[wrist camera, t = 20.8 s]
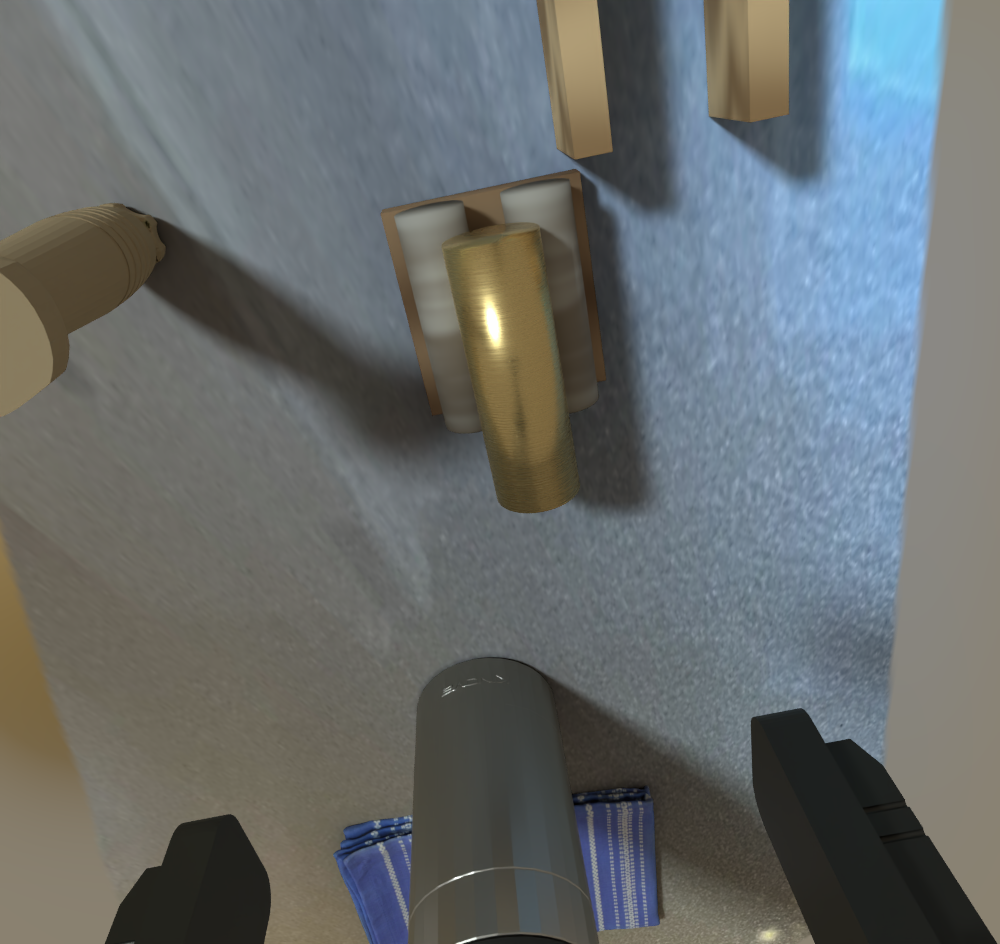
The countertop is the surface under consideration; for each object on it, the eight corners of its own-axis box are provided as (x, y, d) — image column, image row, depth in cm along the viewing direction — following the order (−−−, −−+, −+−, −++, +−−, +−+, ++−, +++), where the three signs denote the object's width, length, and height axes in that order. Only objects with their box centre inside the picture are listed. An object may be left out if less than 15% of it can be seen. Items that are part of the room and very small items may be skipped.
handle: (217, 280, 35) (79, 405, 21) (83, 301, 35) (-136, 440, 22) (181, 171, 32) (2, 236, 19) (38, 194, 32) (-239, 275, 19)
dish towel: (331, 819, 54) (326, 855, 52) (651, 773, 54) (661, 806, 52) (379, 949, 62) (377, 986, 60) (656, 909, 62) (665, 944, 60)
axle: (569, 461, 37) (588, 500, 33) (492, 480, 37) (503, 521, 33) (529, 217, 31) (548, 233, 28) (438, 237, 31) (445, 256, 28)
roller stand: (601, 371, 38) (618, 403, 35) (432, 406, 38) (431, 441, 35) (575, 169, 33) (592, 180, 30) (382, 209, 34) (375, 226, 30)
